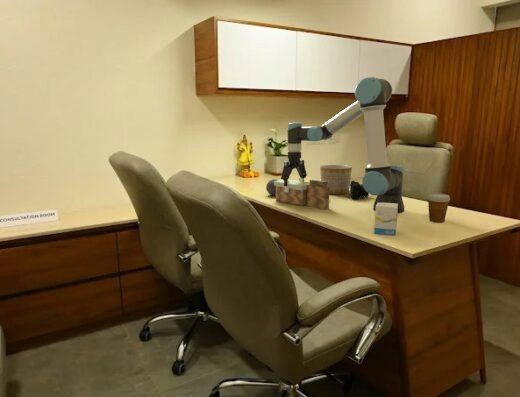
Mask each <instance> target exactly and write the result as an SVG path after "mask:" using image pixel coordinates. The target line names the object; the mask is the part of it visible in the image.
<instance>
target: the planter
mask: <svg viewBox="0 0 520 397" xmlns="http://www.w3.org/2000/svg"><path fill="white" fill-rule="evenodd" d="M319 169H320V181H325V182H327V187H329V195H331V196H332V195H334V196H335V195H336V196H342V195H347V194H348V193H350V183H351V177H352V169H353V167H352V165H346V164H326V165H321V166H320V168H319Z"/></svg>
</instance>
